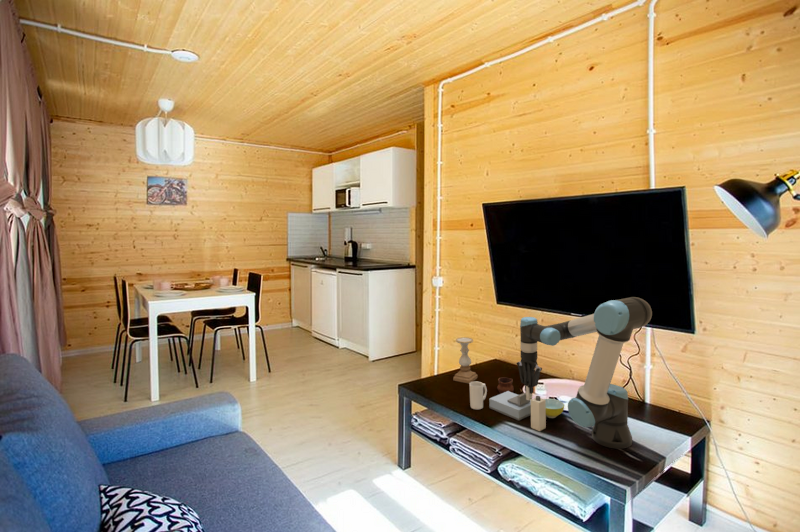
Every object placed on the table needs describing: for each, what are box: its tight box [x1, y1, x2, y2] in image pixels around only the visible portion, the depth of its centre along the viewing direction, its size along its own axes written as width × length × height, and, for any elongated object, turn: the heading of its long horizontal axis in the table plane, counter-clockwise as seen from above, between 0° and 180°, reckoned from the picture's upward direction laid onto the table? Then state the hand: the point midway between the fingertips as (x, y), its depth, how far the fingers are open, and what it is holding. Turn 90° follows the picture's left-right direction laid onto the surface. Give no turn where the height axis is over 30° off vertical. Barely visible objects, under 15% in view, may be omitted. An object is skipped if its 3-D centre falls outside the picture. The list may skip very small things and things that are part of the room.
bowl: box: [543, 398, 565, 419], centre depth 206 cm, size 11×12×6 cm
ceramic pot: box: [496, 376, 523, 394], centre depth 237 cm, size 18×18×7 cm
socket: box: [488, 391, 531, 421], centre depth 214 cm, size 18×14×5 cm
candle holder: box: [452, 336, 479, 384], centre depth 257 cm, size 11×11×24 cm
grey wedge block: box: [508, 391, 530, 406], centre depth 211 cm, size 8×8×5 cm
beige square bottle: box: [530, 395, 547, 432], centre depth 195 cm, size 4×4×14 cm
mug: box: [468, 380, 488, 410], centre depth 220 cm, size 10×7×12 cm, turn 120°
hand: (529, 399), depth 206 cm, fingers closed
